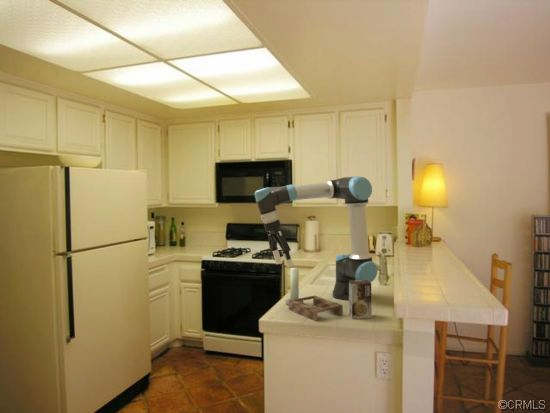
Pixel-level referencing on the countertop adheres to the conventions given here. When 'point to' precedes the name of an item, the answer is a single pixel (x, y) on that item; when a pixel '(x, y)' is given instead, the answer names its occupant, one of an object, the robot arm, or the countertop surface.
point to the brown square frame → (314, 307)
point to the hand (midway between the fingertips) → (284, 264)
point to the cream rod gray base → (294, 285)
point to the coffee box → (360, 299)
